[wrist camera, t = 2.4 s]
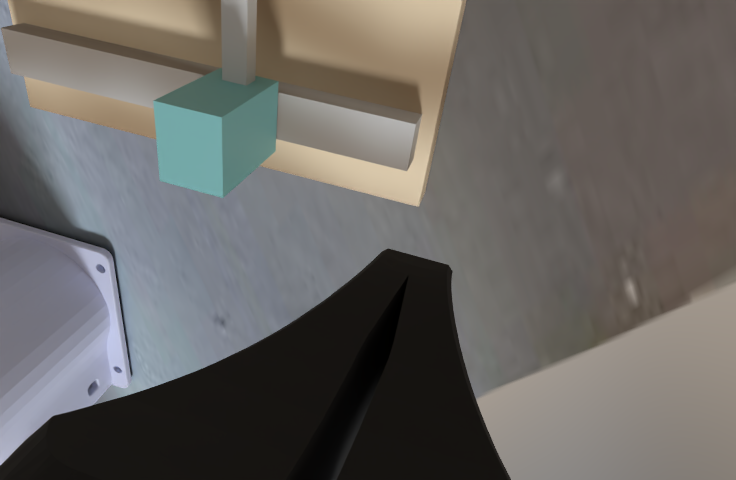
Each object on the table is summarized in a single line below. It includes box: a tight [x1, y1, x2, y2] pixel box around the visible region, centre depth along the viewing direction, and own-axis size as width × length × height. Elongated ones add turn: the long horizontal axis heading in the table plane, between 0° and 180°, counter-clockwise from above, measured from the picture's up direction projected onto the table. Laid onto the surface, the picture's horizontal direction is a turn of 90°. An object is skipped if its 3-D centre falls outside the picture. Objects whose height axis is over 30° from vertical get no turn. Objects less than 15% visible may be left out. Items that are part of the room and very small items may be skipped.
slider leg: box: [153, 0, 279, 198], centre depth 16 cm, size 7×2×4 cm, turn 172°
